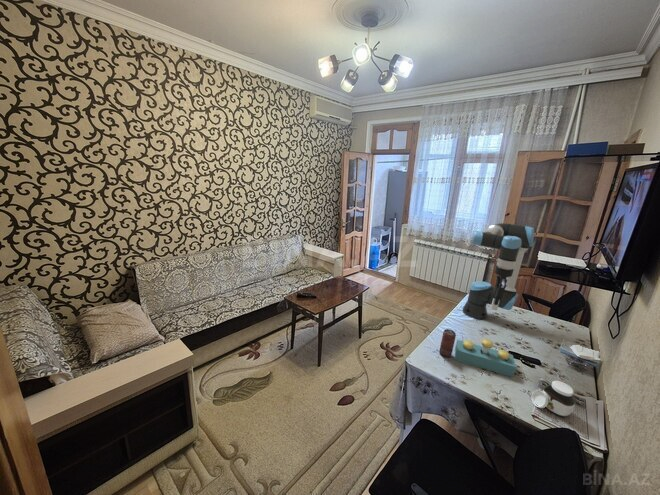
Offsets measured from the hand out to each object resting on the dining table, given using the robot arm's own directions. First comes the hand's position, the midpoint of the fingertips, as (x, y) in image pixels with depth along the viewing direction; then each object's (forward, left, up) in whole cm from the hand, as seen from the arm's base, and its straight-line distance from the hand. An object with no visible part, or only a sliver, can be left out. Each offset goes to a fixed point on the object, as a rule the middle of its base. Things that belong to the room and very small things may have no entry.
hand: (493, 309), depth 139 cm
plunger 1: (+10, -9, -25) cm, 29 cm away
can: (+13, -19, -27) cm, 35 cm away
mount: (+10, -1, -26) cm, 28 cm away
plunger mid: (+10, -1, -21) cm, 24 cm away
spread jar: (+28, +23, -27) cm, 45 cm away
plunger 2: (+10, +7, -25) cm, 28 cm away
